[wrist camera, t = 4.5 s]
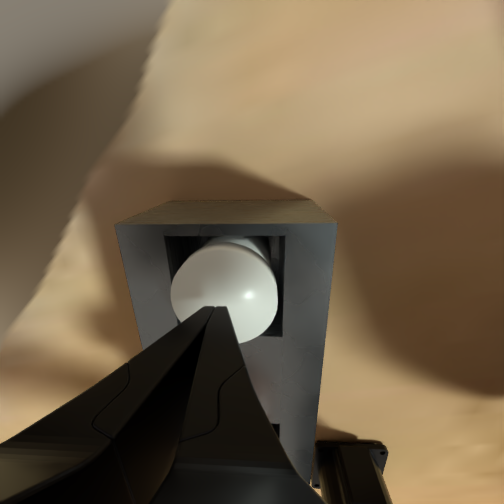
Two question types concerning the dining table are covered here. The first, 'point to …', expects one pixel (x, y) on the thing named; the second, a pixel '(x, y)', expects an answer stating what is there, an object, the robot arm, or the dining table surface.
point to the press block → (288, 291)
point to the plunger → (229, 283)
